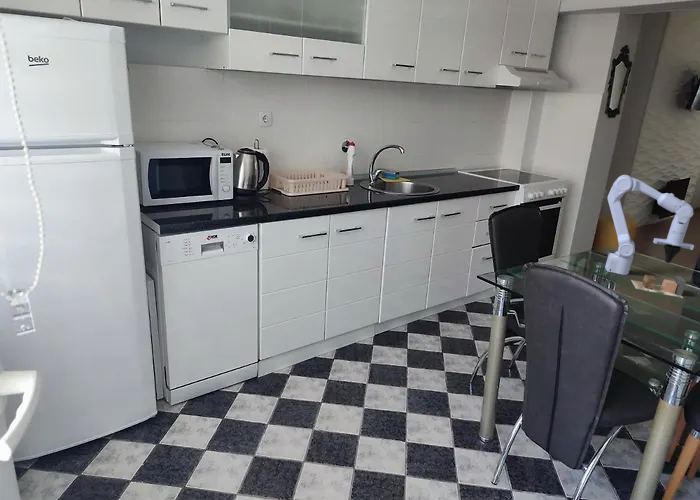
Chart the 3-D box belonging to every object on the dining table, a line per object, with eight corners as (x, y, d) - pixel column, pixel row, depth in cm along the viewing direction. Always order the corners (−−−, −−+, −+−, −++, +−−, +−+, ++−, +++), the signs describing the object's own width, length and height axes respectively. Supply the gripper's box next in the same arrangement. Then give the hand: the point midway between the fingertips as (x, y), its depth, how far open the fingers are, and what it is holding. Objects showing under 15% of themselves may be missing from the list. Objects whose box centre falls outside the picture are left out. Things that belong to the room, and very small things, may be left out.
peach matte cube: (663, 291, 199) (666, 282, 198) (660, 288, 203) (663, 279, 201) (674, 293, 198) (677, 284, 197) (671, 290, 202) (674, 281, 200)
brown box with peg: (645, 288, 199) (648, 279, 198) (642, 283, 205) (645, 274, 204) (653, 290, 199) (656, 280, 197) (650, 284, 204) (653, 276, 203)
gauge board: (635, 290, 199) (636, 288, 199) (630, 282, 209) (631, 279, 209) (682, 300, 194) (683, 297, 194) (674, 290, 204) (675, 288, 204)
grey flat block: (675, 296, 197) (680, 280, 195) (671, 291, 203) (676, 276, 201) (680, 297, 197) (686, 281, 195) (676, 292, 202) (681, 277, 200)
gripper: (660, 230, 202) (650, 261, 207) (700, 237, 198) (689, 268, 203) (656, 226, 209) (646, 256, 213) (694, 233, 205) (684, 263, 209)
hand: (667, 262), depth 208 cm, fingers closed
